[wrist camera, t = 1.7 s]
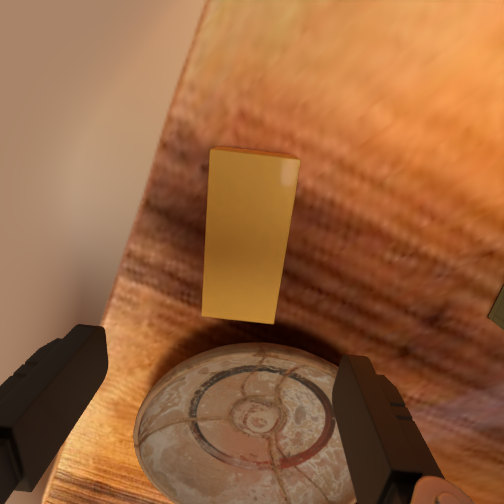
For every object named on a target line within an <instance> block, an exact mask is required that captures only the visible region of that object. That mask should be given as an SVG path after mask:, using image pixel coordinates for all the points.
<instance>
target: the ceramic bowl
mask: <svg viewBox="0 0 504 504" xmlns="http://www.w3.org/2000/svg"><path fill="white" fill-rule="evenodd" d="M338 368H339V367H338V366H336V365H334V364H332V363H330V362H328V361H326V360H324V359H323V358H321V357H318V356H316V355H314V354H312V353H309V352H307V351H304V350H301V349H298V348H294V347H290V346H286V345H280V344H274V343H263V342H250V343H237V344H230V345H225V346H220V347H217V348H213V349H210V350H207V351H205V352H202V353H199V354H197V355H195V356H193V357H190V358H188V359H186V360H184V361H183V362H181V363H179V364H178V365H176V366H175V367H173V368H172V369H171V370H169V371H168V372H167V373H166V374H165V375H164V376H162V377H161V378H160V379H159V380H158V382H157V383H156V384H155V385H154V386H153V388H152V389H151V390H150V391H149V393H148V394H147V396H146V398H145V399H144V401H143V402H142V404H141V407H140V409H139V411H138V414H137V418H136V422H135V426H134V434H133V439H134V447H135V452H136V456H137V459H138V461H139V464H140V466H141V468H142V470H143V472H144V473H145V475H146V476H147V478H148V479H149V481H150V482H151V483H152V484H153V485H154V487H156V488H157V489H158V490H159V491H160V492H161V493H162V494H163V495H164V496H165V497H167V498H168V499H169V500H170V501H172V502H173V503H175V504H355V503H356V502H357V500H356V496H355V492H354V488H353V484H352V481H351V477H350V473H349V469H348V465H347V461H346V457H345V453H344V449H343V446H342V442H341V438H340V434H339V430H338V426H337V422H336V418H335V415H334V411H333V406H332V389H333V385H334V382H335V378H336V375H337V371H338Z"/></svg>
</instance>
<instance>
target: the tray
mask: <svg viewBox="0 0 504 504" xmlns="http://www.w3.org/2000/svg"><path fill="white" fill-rule="evenodd" d="M488 318H490V319H491V320H492V321H493V322H495V323H496V324H497V325H498V326H499V327H501V328H502V329H503V330H504V286H503V288H502V290H501V292H500V294H499V296H498V298H497V300H496V302H495V304H494V306H493V308H492V310H491V312H490V314H489V316H488Z"/></svg>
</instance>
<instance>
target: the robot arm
mask: <svg viewBox="0 0 504 504" xmlns="http://www.w3.org/2000/svg"><path fill="white" fill-rule="evenodd" d="M107 370H108V354H107V344H106V334H105V329H104V328H103V327H101V326H92V325H82V324H79V325H76V326H75V327H74V328H73V329H72V330H71V331H70V332H69V333H68V334H67V335H66V336H65V337H64V338H63V339H60V338H59V339H58V338H57V339H55V340H54V341H52V342H50V343H48V344H47V345H45V346H43V347H41V348H40V349H38V350H37V351H36V352H35V353H34V354H33V355H32V356H31V357H30V358H29V359H28V360H27V361H26V362H25V364H24V365H22V366H21V367H20V368H18V369H17V370H16V371H15V372H14V375H13V376H10V377H9V378H8V379H7V380H6V381H5V382H4V383H3V384H2V385H1V386H0V504H5V502H6V501H7V499H8V498H9V496H10V495H11V493H12V492H13V490H16V491H26V492H32V491H33V489H34V488H35V486H36V484H37V483H38V481H39V480H40V478H41V477H42V475H43V474H44V472H45V471H46V469H47V467H48V466H49V464H50V463H51V461H52V460H53V458H54V457H55V455H56V454H57V452H58V451H59V449H60V447H61V446H62V444H63V443H64V441H65V440H66V438H67V437H68V435H69V434H70V432H71V430H72V429H73V427H74V426H75V424H76V423H77V421H78V420H79V418H80V417H81V415H82V414H83V412H84V410H85V409H86V407H87V406H88V404H89V403H90V401H91V400H92V398H93V397H94V395H95V393H96V392H97V390H98V389H99V387H100V386H101V384H102V383H103V381H104V379H105V376H106V374H107ZM332 406H333V411H334V415H335V418H336V422H337V426H338V430H339V434H340V438H341V442H342V446H343V449H344V453H345V457H346V461H347V465H348V469H349V473H350V477H351V481H352V484H353V488H354V492H355V496H356V500H357V504H475V503H474V502H473V501H472V500H471V499H470V498H469V497H468V496H467V495H466V494H465V493H464V492H463V491H462V490H461V489H460V488H458V487H457V486H455V485H454V484H452V483H451V482H449V481H447V480H445V478H444V476H443V475H442V473H441V471H440V469H439V467H438V465H437V463H436V461H435V460H434V458H433V456H432V454H431V452H430V450H429V448H428V446H427V444H426V443H425V441H424V439H423V437H422V435H421V433H420V431H419V429H418V427H417V426H416V424H415V422H414V421H413V420H412V416H411V414H410V412H409V411H408V409H407V408H406V407H405V403H404V401H403V399H402V397H401V395H400V394H399V392H398V390H397V388H396V387H395V386H394V385H393V384H392V383H391V382H390V381H389V380H388V379H387V378H386V377H385V376H384V375H377V374H376V372H375V370H374V368H373V366H372V364H371V362H370V360H369V358H367V357H364V356H355V355H346V354H344V355H343V356H342V358H341V361H340V364H339V368H338V371H337V375H336V378H335V382H334V385H333V389H332Z"/></svg>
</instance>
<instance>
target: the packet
mask: <svg viewBox="0 0 504 504" xmlns="http://www.w3.org/2000/svg"><path fill="white" fill-rule="evenodd" d="M300 163H301V160H300V159H299V158H297V157H296V156H294V155H290V154H282V153H273V152H265V151H256V150H248V149H239V148H231V147H222V146H219V147H216V148H212V149H210V155H209V175H208V195H207V215H206V235H205V255H204V275H203V295H202V316H203V317H212V318H221V319H230V320H239V321H248V322H257V323H266V324H274V319H275V313H276V307H277V301H278V295H279V289H280V283H281V277H282V271H283V265H284V259H285V253H286V247H287V241H288V235H289V229H290V223H291V217H292V211H293V205H294V199H295V193H296V187H297V181H298V175H299V169H300Z"/></svg>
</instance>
